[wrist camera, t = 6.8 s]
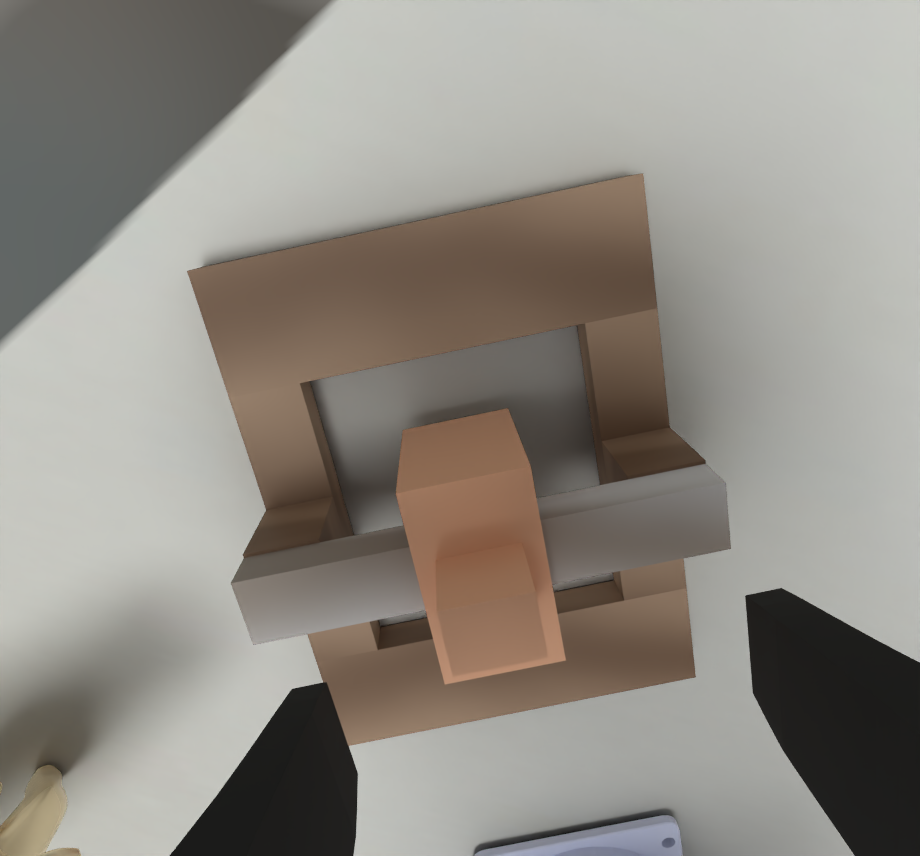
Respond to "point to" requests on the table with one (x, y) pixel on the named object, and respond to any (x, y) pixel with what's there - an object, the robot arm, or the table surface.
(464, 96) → the table surface
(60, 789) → the unicorn
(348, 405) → the table surface
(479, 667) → the block
